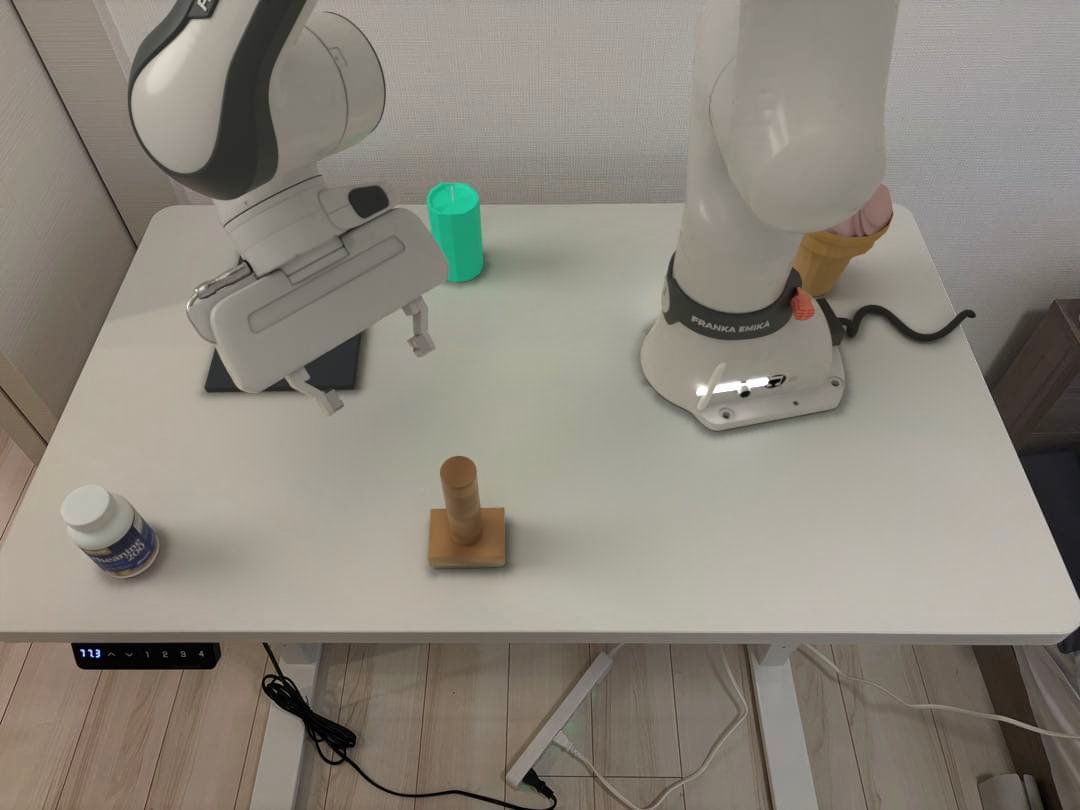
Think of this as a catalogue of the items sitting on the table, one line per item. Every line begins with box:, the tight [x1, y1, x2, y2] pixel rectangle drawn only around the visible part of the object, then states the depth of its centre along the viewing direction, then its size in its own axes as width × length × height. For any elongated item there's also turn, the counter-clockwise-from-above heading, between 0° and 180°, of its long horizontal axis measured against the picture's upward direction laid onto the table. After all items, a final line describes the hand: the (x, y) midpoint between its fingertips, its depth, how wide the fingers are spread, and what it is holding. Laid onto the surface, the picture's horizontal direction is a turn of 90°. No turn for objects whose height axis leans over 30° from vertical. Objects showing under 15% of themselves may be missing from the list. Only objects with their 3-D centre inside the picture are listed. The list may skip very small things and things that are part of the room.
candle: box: [426, 182, 485, 283], centre depth 93 cm, size 6×6×12 cm
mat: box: [204, 254, 362, 393], centre depth 93 cm, size 16×22×1 cm
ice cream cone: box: [793, 183, 894, 297], centre depth 89 cm, size 11×11×20 cm
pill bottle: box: [60, 484, 160, 579], centre depth 71 cm, size 5×5×10 cm
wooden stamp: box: [427, 455, 506, 569], centre depth 71 cm, size 7×5×14 cm
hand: (382, 381), depth 68 cm, fingers open, 8 cm apart
